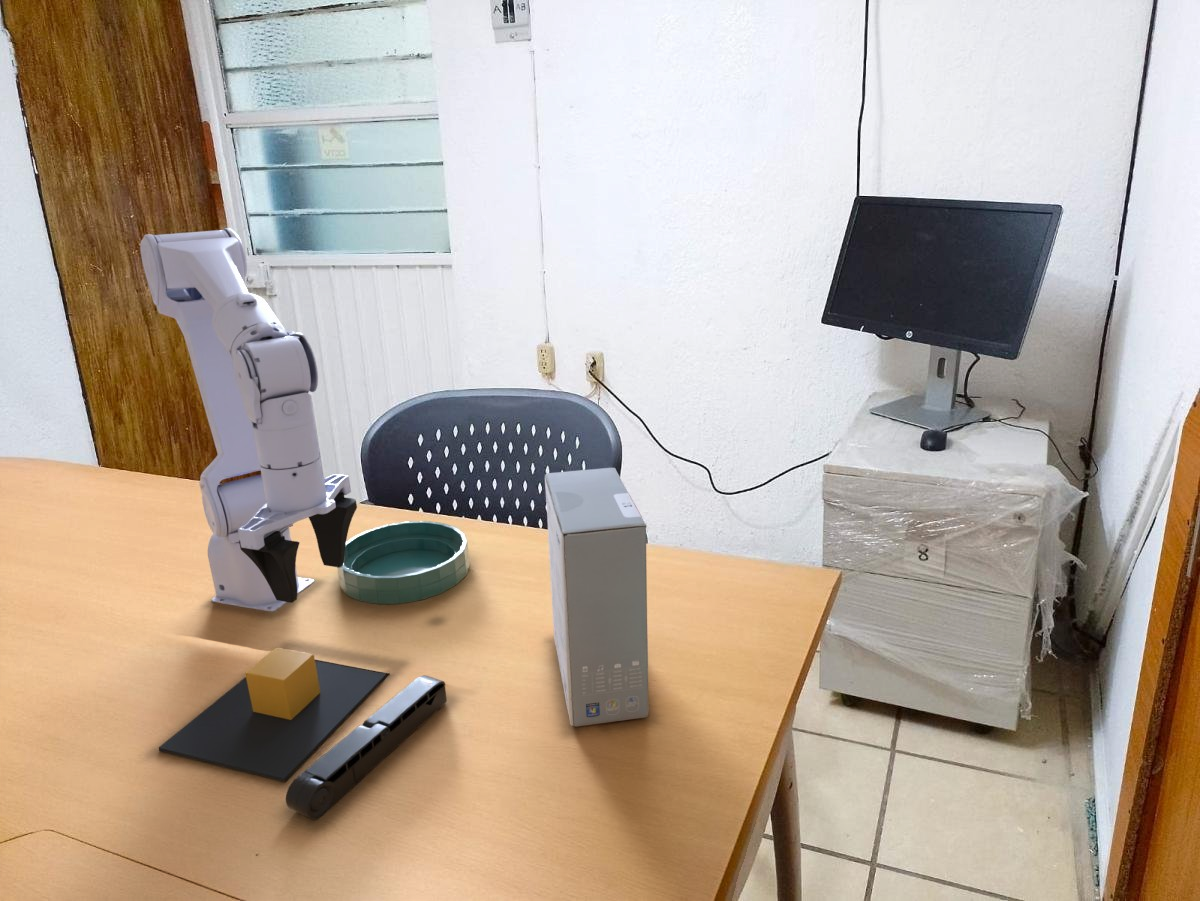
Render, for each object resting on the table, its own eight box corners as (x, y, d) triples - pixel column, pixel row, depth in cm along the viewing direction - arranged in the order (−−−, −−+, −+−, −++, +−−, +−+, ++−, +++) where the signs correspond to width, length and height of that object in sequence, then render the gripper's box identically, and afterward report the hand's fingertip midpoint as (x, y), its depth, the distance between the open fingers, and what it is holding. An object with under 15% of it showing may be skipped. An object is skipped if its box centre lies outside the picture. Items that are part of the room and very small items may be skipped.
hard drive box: (651, 719, 78) (648, 526, 71) (570, 731, 76) (559, 535, 70) (620, 632, 92) (615, 464, 85) (552, 640, 91) (541, 471, 84)
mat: (158, 751, 76) (158, 747, 76) (288, 645, 92) (287, 642, 92) (284, 782, 71) (284, 778, 71) (397, 665, 87) (397, 662, 87)
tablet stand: (310, 827, 66) (305, 797, 65) (287, 816, 68) (282, 787, 67) (449, 702, 81) (446, 676, 80) (428, 695, 82) (425, 669, 81)
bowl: (313, 597, 102) (308, 568, 101) (386, 541, 116) (382, 515, 115) (429, 616, 97) (425, 585, 95) (490, 555, 111) (488, 528, 110)
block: (252, 712, 80) (244, 672, 79) (283, 685, 84) (276, 647, 83) (291, 720, 79) (283, 680, 77) (320, 692, 83) (314, 653, 81)
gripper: (273, 490, 74) (296, 623, 78) (367, 439, 87) (383, 555, 91) (210, 483, 76) (237, 612, 81) (311, 433, 89) (329, 547, 93)
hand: (310, 581), depth 86 cm, fingers open, 7 cm apart
